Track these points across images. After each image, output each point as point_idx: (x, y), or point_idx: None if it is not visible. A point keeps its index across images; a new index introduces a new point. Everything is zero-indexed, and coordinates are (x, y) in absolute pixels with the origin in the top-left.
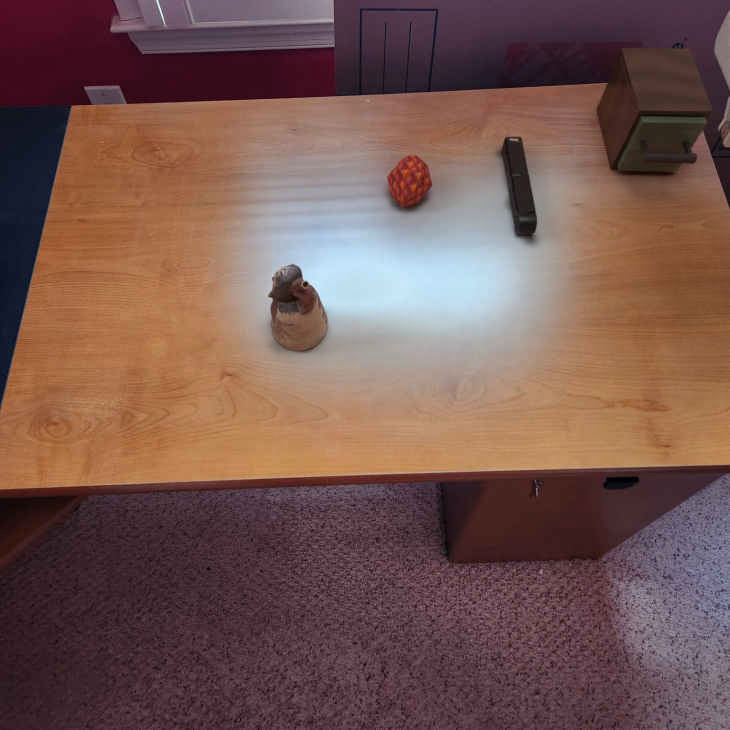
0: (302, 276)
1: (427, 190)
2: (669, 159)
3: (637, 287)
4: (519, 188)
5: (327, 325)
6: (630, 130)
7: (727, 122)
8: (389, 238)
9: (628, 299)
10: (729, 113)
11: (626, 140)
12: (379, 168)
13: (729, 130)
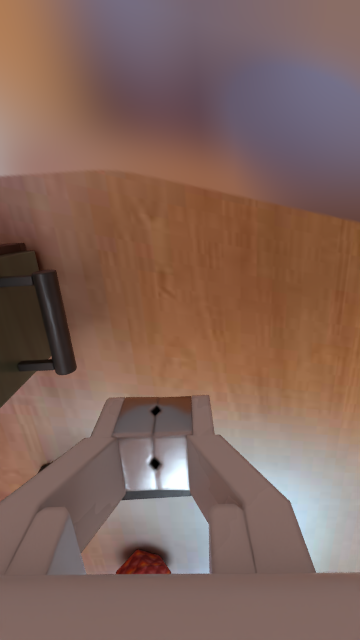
0: None
1: (152, 567)
2: (64, 328)
3: (283, 341)
4: (138, 494)
5: None
6: None
7: (133, 486)
8: (208, 569)
9: (303, 355)
10: (102, 519)
11: None
12: None
13: (185, 487)
